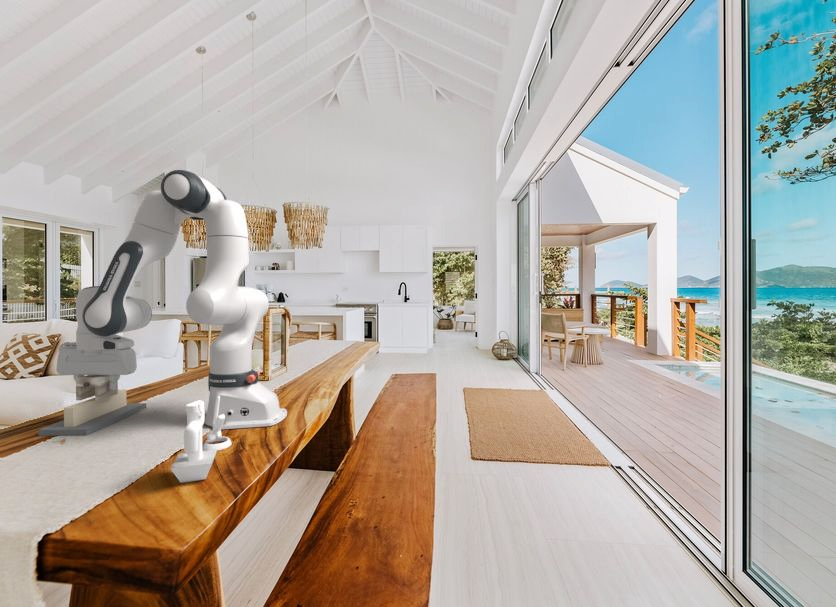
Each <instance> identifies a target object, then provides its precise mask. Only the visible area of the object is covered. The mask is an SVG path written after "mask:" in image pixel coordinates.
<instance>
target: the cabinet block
mask: <svg viewBox="0 0 836 607" xmlns="http://www.w3.org/2000/svg"><path fill="white" fill-rule="evenodd" d="M111 380H112V379H110V375H84V376H83V377H79V378H76V381H75V400H76V401H83V400H87V399H89V398H91V397H92V398H93V397H94V398H95V400H102V399H105V398H108V397H110V396H113V395H116V394H118V390H119V388H118V387H119V386H118V384H119V382H118V381H119V380H118V381H117V383H116V389H115V390H107V389H106V388H107V387H106V384H110V382H111Z"/></svg>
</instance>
